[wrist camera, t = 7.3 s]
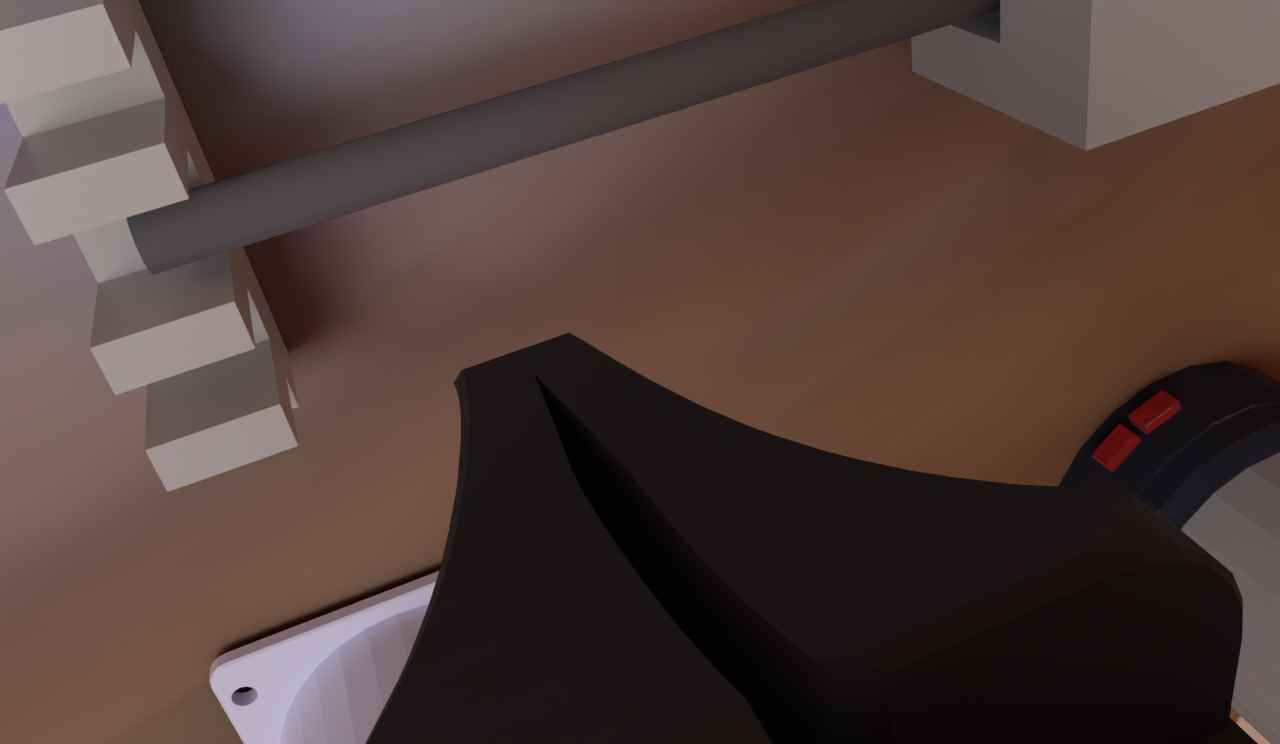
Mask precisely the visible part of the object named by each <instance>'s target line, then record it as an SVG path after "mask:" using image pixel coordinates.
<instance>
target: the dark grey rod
mask: <svg viewBox="0 0 1280 744" xmlns="http://www.w3.org/2000/svg"><path fill="white" fill-rule="evenodd" d="M999 9H1000V0H818V1H815V2H811V3H808V4H805V5H801V6H798V7H795V8H791V9H788V10H785V11H781V12H778V13H775V14H771V15H768V16H765V17H761V18H758V19H755V20H751V21H748V22H745V23H741V24H738V25H735V26H731V27H728V28H725V29H721V30H718V31H715V32H711V33H708V34H705V35H701V36H698V37H695V38H691V39H688V40H685V41H682V42H678V43H675V44H672V45H668V46H665V47H662V48H658V49H655V50H652V51H648V52H645V53H642V54H638V55H635V56H632V57H628V58H625V59H622V60H618V61H615V62H612V63H608V64H605V65H602V66H598V67H595V68H592V69H588V70H585V71H582V72H578V73H575V74H572V75H568V76H565V77H562V78H558V79H555V80H552V81H548V82H545V83H542V84H538V85H535V86H532V87H528V88H525V89H522V90H518V91H515V92H512V93H509V94H505V95H502V96H499V97H495V98H492V99H489V100H485V101H482V102H479V103H475V104H472V105H469V106H465V107H462V108H459V109H455V110H452V111H449V112H445V113H442V114H439V115H435V116H432V117H429V118H425V119H422V120H419V121H415V122H412V123H409V124H405V125H402V126H399V127H395V128H392V129H389V130H385V131H382V132H379V133H375V134H372V135H369V136H365V137H362V138H359V139H355V140H352V141H349V142H345V143H342V144H339V145H335V146H332V147H329V148H326V149H322V150H319V151H316V152H312V153H309V154H306V155H302V156H299V157H296V158H292V159H289V160H286V161H282V162H279V163H276V164H272V165H269V166H266V167H262V168H259V169H256V170H252V171H249V172H246V173H242V174H239V175H236V176H232V177H229V178H226V179H222V180H219V181H216V182H212V183H209V184H206V185H202V186H199V187H196V188H192V189H189V199H187V200H183V201H180V202H177V203H173V204H170V205H167V206H163V207H160V208H157V209H153V210H150V211H147V212H144V213H140V214H137V215H134V216H130V217H127V222H128V226H129V229H130V232H131V235H132V238H133V240H134V243H135V245H136V248H137V250H138V252H139V254H140V256H141V258H142V260H143V262H144V264H145V265H146V267H147V269H148V270H149V271H150V272H151V273H152V274H153V275H154V274H157V273H161V272H164V271H167V270H170V269H173V268H177V267H180V266H183V265H186V264H189V263H193V262H196V261H199V260H202V259H205V258H208V257H212V256H215V255H218V254H221V253H224V252H228V251H231V250H234V249H237V248H240V247H244V246H247V245H250V244H253V243H256V242H260V241H263V240H266V239H269V238H272V237H275V236H279V235H282V234H285V233H288V232H291V231H295V230H298V229H301V228H304V227H307V226H311V225H314V224H317V223H320V222H323V221H326V220H330V219H333V218H336V217H339V216H342V215H346V214H349V213H352V212H355V211H358V210H362V209H365V208H368V207H371V206H374V205H378V204H381V203H384V202H387V201H390V200H393V199H397V198H400V197H403V196H406V195H409V194H413V193H416V192H419V191H422V190H425V189H429V188H432V187H435V186H438V185H441V184H444V183H448V182H451V181H454V180H457V179H460V178H464V177H467V176H470V175H473V174H476V173H480V172H483V171H486V170H489V169H492V168H496V167H499V166H502V165H505V164H508V163H511V162H515V161H518V160H521V159H524V158H527V157H531V156H534V155H537V154H540V153H543V152H547V151H550V150H553V149H556V148H559V147H562V146H566V145H569V144H572V143H575V142H578V141H582V140H585V139H588V138H591V137H594V136H598V135H601V134H604V133H607V132H610V131H613V130H617V129H620V128H623V127H626V126H629V125H633V124H636V123H639V122H642V121H645V120H649V119H652V118H655V117H658V116H661V115H665V114H668V113H671V112H674V111H677V110H680V109H684V108H687V107H690V106H693V105H696V104H700V103H703V102H706V101H709V100H712V99H716V98H719V97H722V96H725V95H728V94H731V93H735V92H738V91H741V90H744V89H747V88H751V87H754V86H757V85H760V84H763V83H767V82H770V81H773V80H776V79H779V78H783V77H786V76H789V75H792V74H795V73H798V72H802V71H805V70H808V69H811V68H814V67H818V66H821V65H824V64H827V63H830V62H834V61H837V60H840V59H843V58H846V57H849V56H853V55H856V54H859V53H862V52H865V51H869V50H872V49H875V48H878V47H881V46H885V45H888V44H891V43H894V42H897V41H901V40H904V39H907V38H910V37H913V36H916V35H920V34H923V33H926V32H929V31H932V30H936V29H939V28H942V27H945V26H948V25H952V24H955V23H958V22H961V21H964V20H967V19H971V18H974V17H977V16H980V15H983V14H987V13H990V12H993V11H996V10H999Z"/></svg>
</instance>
